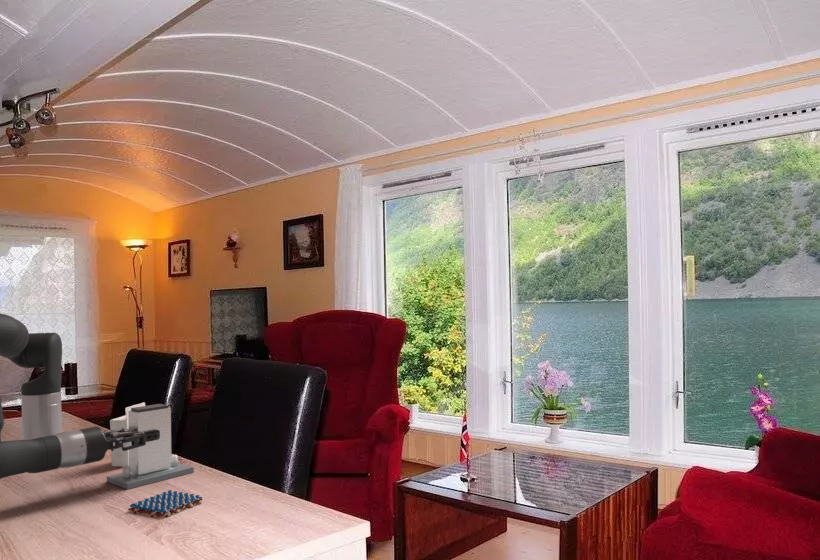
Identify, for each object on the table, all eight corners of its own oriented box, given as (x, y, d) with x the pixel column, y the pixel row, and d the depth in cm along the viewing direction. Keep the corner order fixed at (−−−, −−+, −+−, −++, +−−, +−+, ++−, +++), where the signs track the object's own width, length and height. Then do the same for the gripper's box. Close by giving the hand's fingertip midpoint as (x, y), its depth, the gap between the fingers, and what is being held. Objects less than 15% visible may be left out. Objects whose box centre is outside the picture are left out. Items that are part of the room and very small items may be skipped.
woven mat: (125, 514, 125) (124, 504, 126) (168, 498, 135) (168, 488, 135) (162, 522, 121) (162, 511, 121) (205, 505, 130) (204, 495, 130)
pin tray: (127, 489, 140) (127, 472, 141) (106, 481, 147) (106, 465, 147) (193, 472, 153) (193, 456, 153) (171, 465, 159) (171, 450, 159)
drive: (129, 471, 148) (128, 408, 149) (161, 464, 154) (161, 403, 155) (138, 475, 145) (137, 410, 146) (171, 467, 151) (170, 405, 152)
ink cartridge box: (131, 457, 169) (130, 401, 169) (148, 458, 168) (147, 401, 168) (110, 466, 160) (108, 407, 161) (127, 467, 159) (126, 407, 160)
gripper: (91, 434, 133) (168, 420, 146) (63, 426, 142) (138, 413, 155) (92, 470, 133) (169, 453, 146) (63, 460, 142) (138, 444, 155)
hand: (152, 432), depth 151 cm, fingers open, 4 cm apart
